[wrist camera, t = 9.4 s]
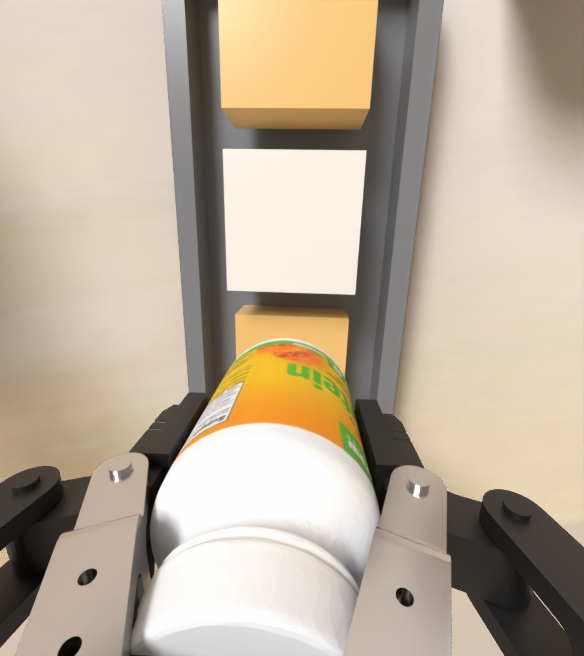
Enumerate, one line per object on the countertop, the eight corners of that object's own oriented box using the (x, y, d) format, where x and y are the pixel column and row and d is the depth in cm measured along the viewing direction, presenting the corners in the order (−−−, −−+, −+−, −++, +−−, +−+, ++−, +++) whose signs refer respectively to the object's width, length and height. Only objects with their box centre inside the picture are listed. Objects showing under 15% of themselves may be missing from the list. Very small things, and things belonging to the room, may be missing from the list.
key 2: (236, 162, 16) (222, 148, 13) (357, 164, 15) (366, 150, 13) (238, 283, 17) (226, 290, 15) (348, 286, 17) (355, 294, 15)
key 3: (244, 305, 19) (235, 314, 17) (344, 308, 19) (348, 318, 17) (246, 394, 21) (237, 414, 18) (337, 399, 21) (341, 420, 18)
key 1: (232, -29, 14) (215, -86, 11) (371, -31, 13) (385, -90, 11) (235, 128, 15) (221, 107, 13) (360, 129, 15) (369, 108, 13)
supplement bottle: (374, 392, 14) (516, 729, 4) (289, 466, 15) (260, 850, 6) (281, 308, 13) (211, 505, 4) (200, 395, 14) (-9, 708, 5)
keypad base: (187, -24, 16) (155, -92, 13) (424, -27, 16) (456, -100, 12) (213, 490, 25) (198, 529, 22) (367, 500, 24) (377, 542, 21)
